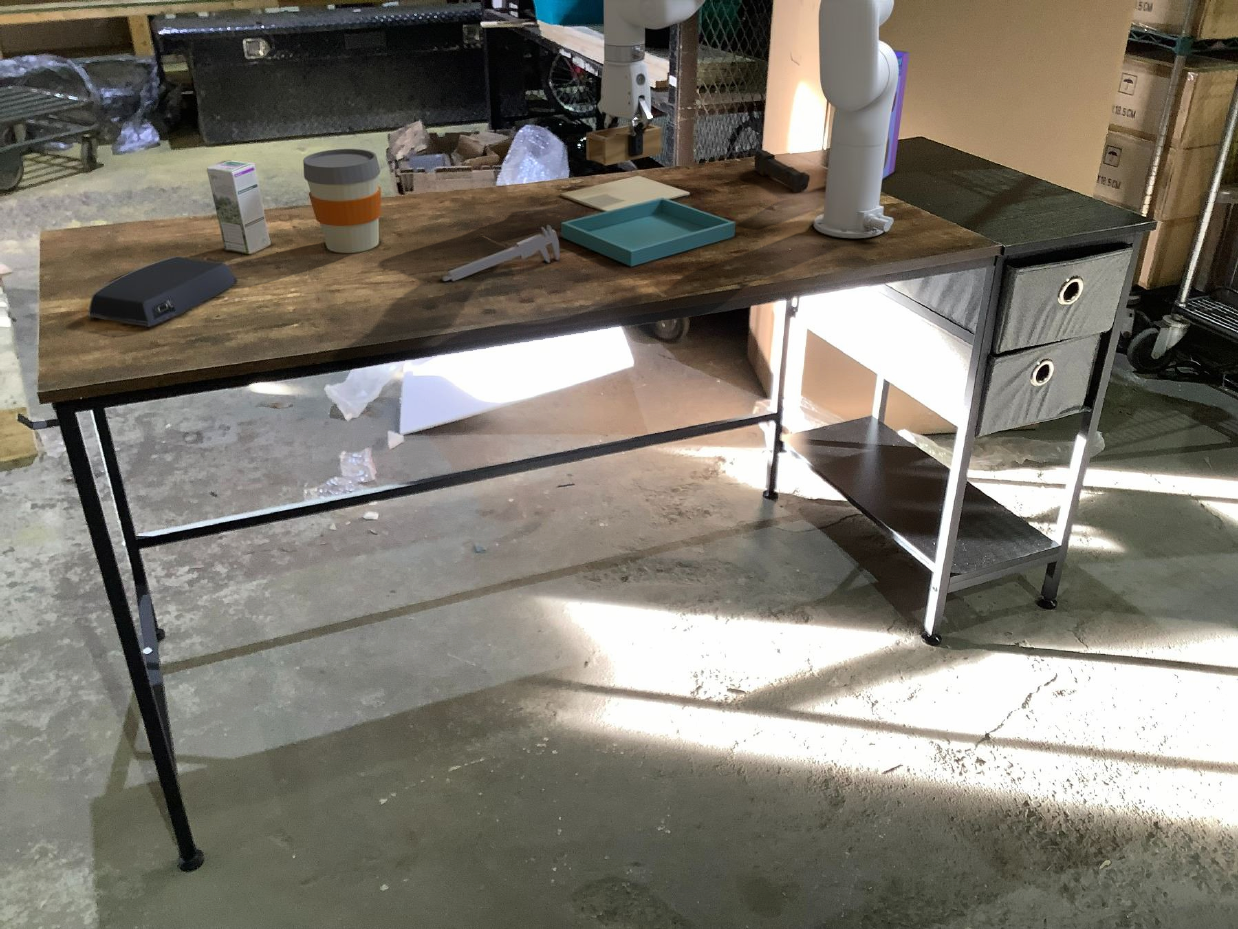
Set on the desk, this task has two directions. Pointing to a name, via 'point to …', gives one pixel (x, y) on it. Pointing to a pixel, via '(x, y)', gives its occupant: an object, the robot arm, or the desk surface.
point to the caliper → (512, 254)
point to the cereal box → (895, 114)
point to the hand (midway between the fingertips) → (624, 151)
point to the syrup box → (239, 206)
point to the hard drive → (160, 291)
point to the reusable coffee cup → (345, 197)
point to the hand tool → (780, 171)
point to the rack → (620, 144)
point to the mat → (623, 193)
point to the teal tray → (647, 231)
